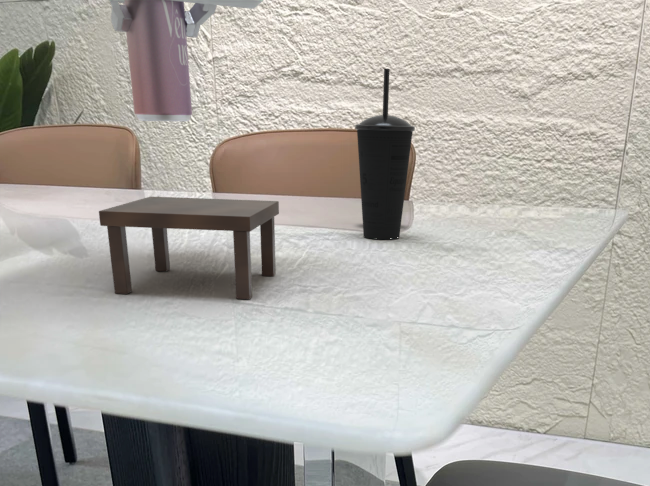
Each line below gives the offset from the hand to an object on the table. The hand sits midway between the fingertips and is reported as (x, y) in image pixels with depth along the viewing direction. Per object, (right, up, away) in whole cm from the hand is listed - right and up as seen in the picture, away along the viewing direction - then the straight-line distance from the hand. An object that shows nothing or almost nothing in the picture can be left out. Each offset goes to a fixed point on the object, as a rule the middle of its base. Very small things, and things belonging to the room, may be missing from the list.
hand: (154, 30), depth 79 cm
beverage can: (0, -8, +3) cm, 9 cm away
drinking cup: (+24, -13, +25) cm, 37 cm away
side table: (+6, -27, -5) cm, 28 cm away
